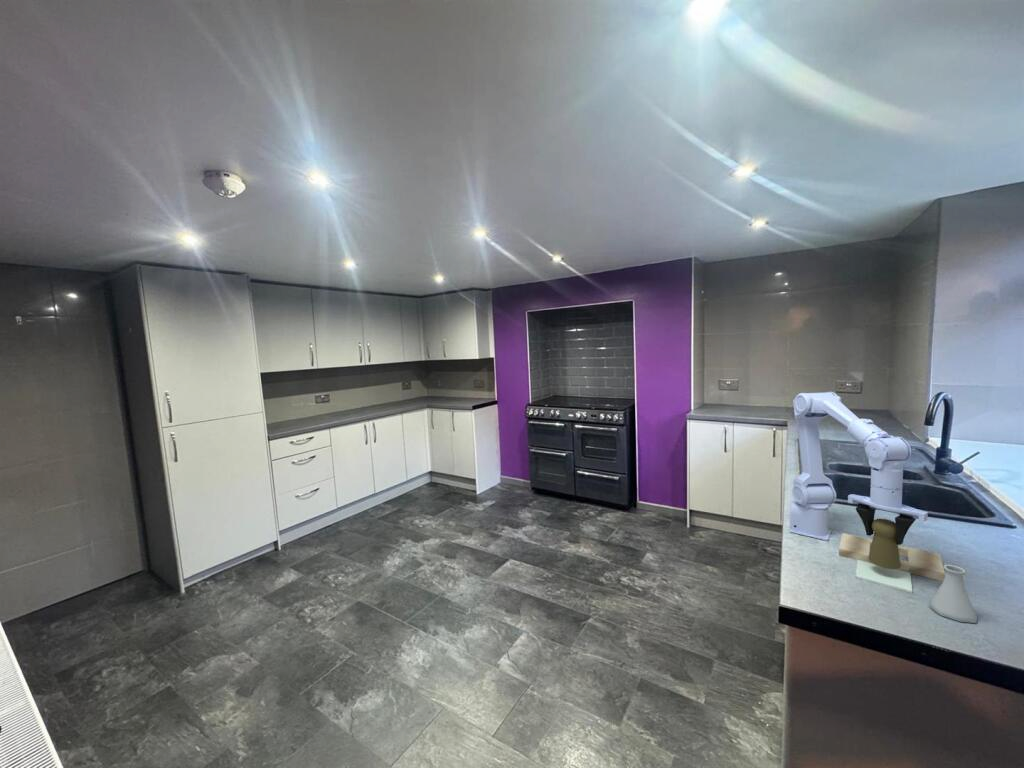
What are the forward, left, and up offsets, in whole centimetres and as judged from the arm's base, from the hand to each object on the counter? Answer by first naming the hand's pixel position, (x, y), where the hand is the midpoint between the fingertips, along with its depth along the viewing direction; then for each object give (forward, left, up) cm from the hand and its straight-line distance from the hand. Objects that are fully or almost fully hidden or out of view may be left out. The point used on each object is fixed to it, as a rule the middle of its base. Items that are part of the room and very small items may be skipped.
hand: (884, 539), depth 99 cm
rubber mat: (0, 0, -10) cm, 10 cm away
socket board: (+1, +12, -10) cm, 15 cm away
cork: (0, +1, -7) cm, 7 cm away
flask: (+11, -9, -10) cm, 17 cm away
